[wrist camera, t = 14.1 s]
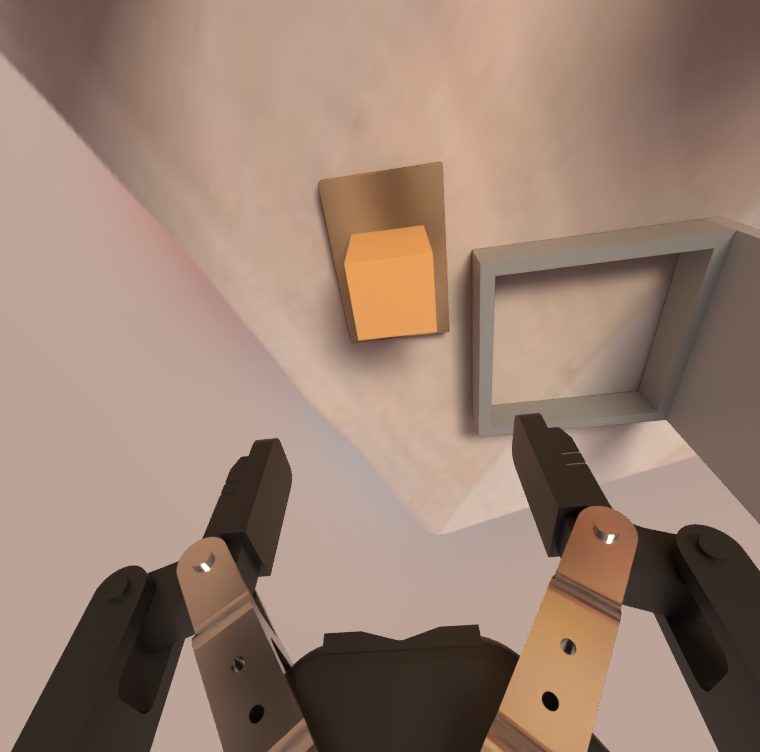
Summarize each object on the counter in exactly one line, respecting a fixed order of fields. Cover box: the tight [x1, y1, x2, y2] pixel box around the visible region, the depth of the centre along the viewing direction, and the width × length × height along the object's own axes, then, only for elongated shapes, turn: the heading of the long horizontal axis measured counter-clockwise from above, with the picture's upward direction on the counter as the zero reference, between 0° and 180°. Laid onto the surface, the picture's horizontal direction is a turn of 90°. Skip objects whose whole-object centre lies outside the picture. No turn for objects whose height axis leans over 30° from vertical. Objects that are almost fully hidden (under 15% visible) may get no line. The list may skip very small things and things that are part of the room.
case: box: [472, 217, 760, 524], centre depth 27 cm, size 17×16×14 cm
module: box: [344, 225, 437, 341], centre depth 26 cm, size 5×5×6 cm
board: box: [318, 162, 450, 343], centre depth 29 cm, size 8×12×1 cm, turn 8°
